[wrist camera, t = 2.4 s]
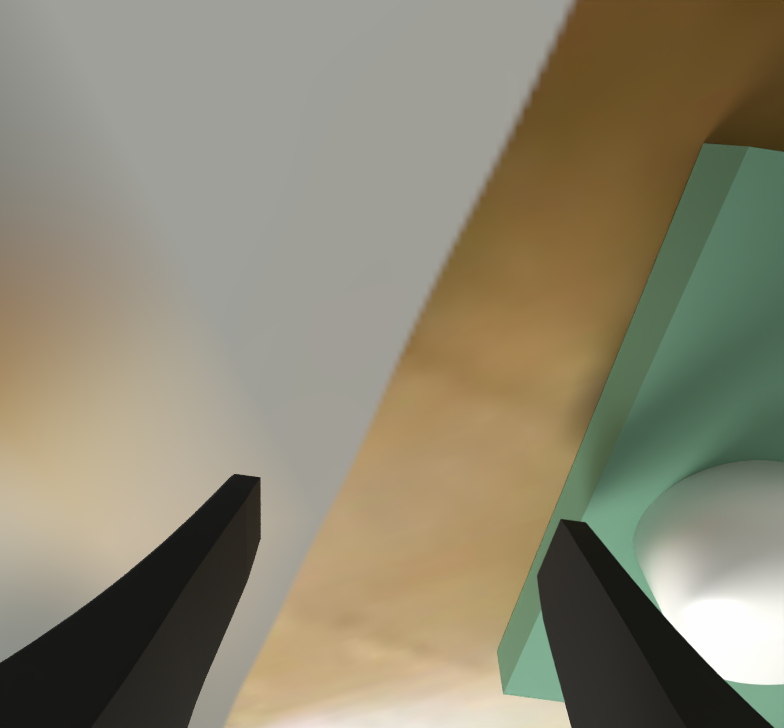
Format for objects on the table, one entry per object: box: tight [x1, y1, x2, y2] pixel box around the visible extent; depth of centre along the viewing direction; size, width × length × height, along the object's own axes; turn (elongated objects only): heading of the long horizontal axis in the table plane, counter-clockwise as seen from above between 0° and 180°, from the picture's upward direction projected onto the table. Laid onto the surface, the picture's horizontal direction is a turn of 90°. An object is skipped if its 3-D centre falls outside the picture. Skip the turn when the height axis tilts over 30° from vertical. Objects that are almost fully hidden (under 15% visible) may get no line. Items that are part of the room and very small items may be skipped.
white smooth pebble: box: [633, 460, 784, 685], centre depth 11 cm, size 5×5×2 cm
